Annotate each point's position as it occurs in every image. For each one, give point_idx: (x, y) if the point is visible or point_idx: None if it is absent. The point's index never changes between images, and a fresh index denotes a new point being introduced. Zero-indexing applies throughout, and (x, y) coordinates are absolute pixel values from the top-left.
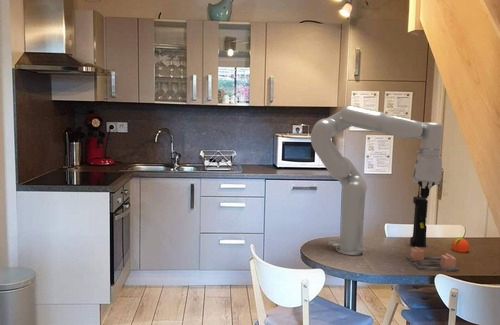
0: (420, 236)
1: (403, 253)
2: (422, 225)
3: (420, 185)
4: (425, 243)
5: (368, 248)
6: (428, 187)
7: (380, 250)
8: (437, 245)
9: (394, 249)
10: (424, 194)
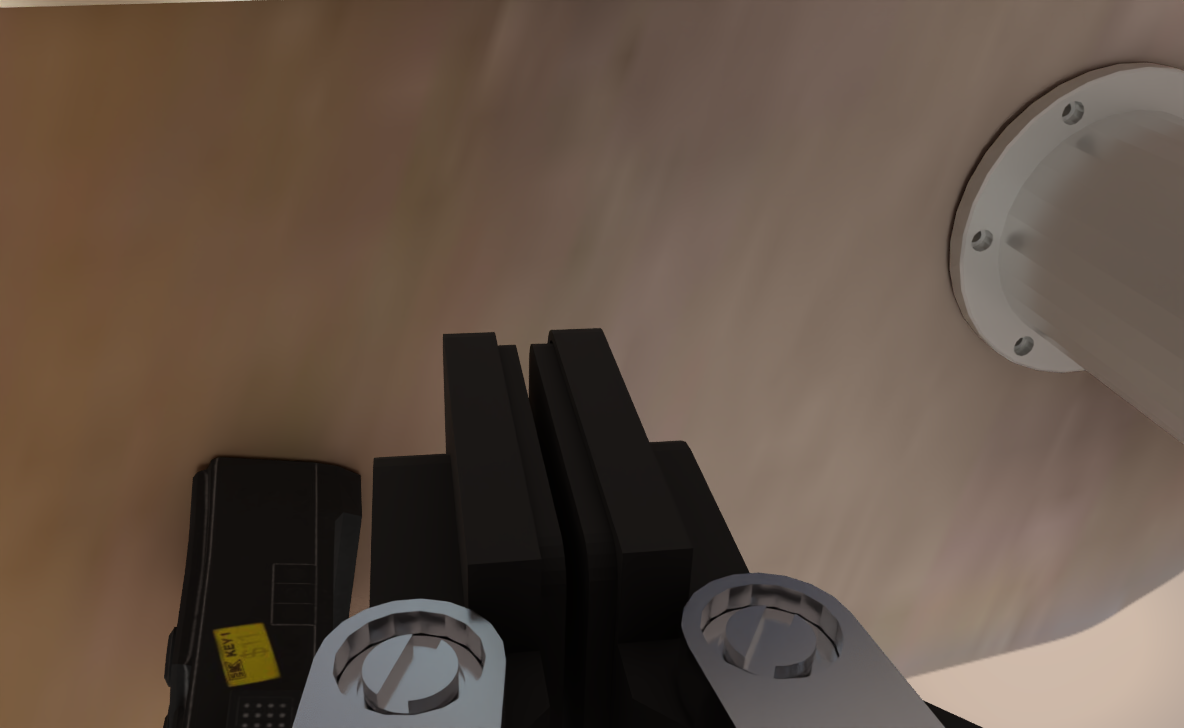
0: (266, 547)
1: (527, 249)
2: (238, 653)
3: (951, 725)
4: (198, 503)
5: (863, 355)
6: (485, 649)
7: (758, 311)
8: (9, 631)
9: None
10: (607, 394)
